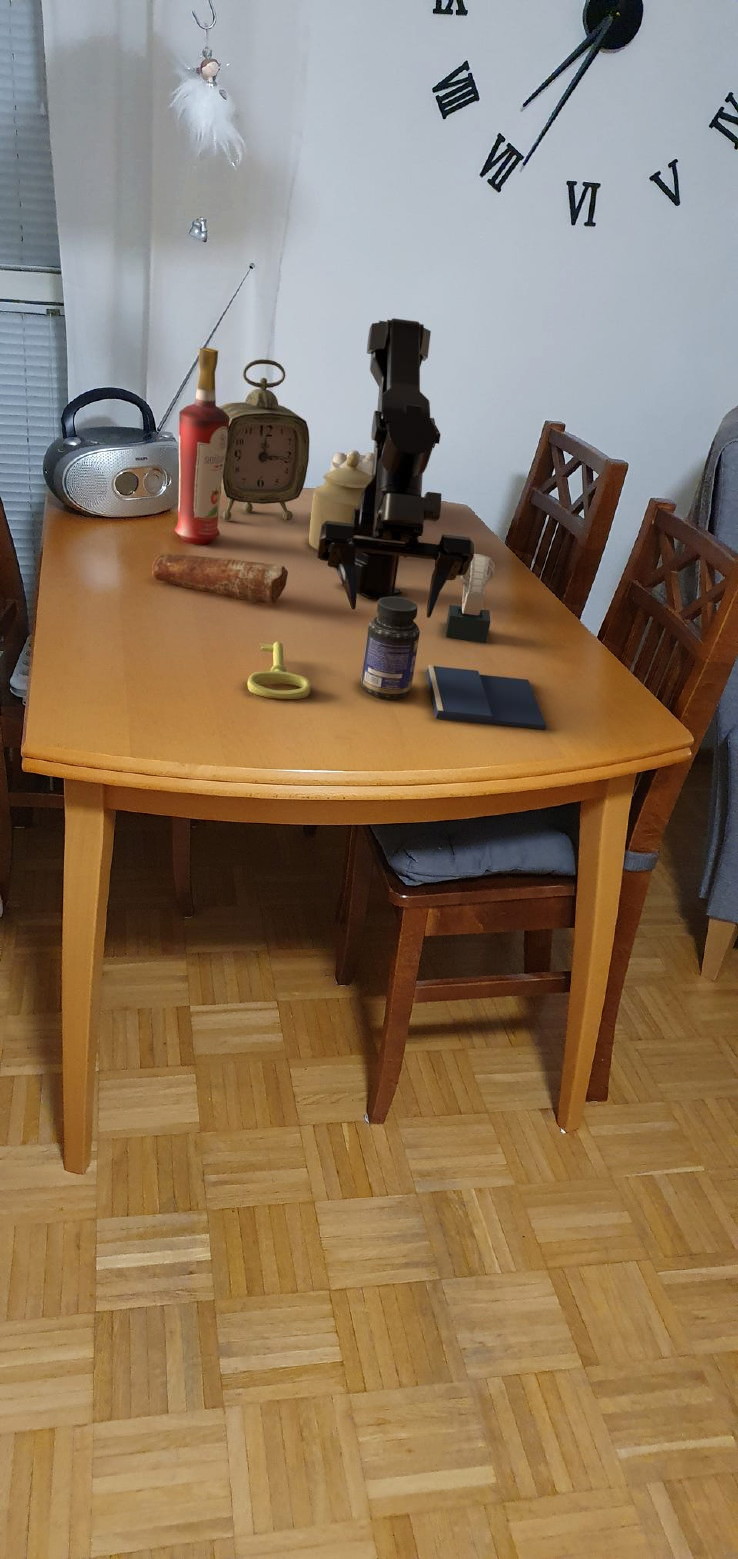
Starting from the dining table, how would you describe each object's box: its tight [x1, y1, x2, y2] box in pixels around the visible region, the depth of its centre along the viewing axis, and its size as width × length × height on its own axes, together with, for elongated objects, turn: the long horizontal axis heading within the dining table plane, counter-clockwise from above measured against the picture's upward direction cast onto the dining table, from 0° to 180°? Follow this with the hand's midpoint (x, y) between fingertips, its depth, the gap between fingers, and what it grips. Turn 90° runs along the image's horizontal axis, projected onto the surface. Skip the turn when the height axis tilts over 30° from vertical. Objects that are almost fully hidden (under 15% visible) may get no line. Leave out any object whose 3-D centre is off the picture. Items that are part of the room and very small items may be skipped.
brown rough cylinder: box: [151, 553, 289, 605], centre depth 164 cm, size 6×19×6 cm, turn 75°
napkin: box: [425, 664, 547, 730], centre depth 144 cm, size 13×13×1 cm
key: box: [247, 641, 311, 700], centre depth 141 cm, size 7×12×2 cm, turn 23°
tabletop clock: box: [218, 359, 310, 522], centre depth 192 cm, size 14×9×25 cm, turn 114°
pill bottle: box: [360, 596, 421, 700], centre depth 141 cm, size 6×6×11 cm
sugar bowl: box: [308, 452, 372, 551], centre depth 186 cm, size 15×11×15 cm
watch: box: [445, 553, 496, 644], centre depth 160 cm, size 6×8×11 cm
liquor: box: [174, 347, 230, 545], centre depth 177 cm, size 7×7×28 cm
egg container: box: [329, 449, 374, 477], centre depth 209 cm, size 10×13×9 cm
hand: (391, 612), depth 144 cm, fingers open, 9 cm apart
